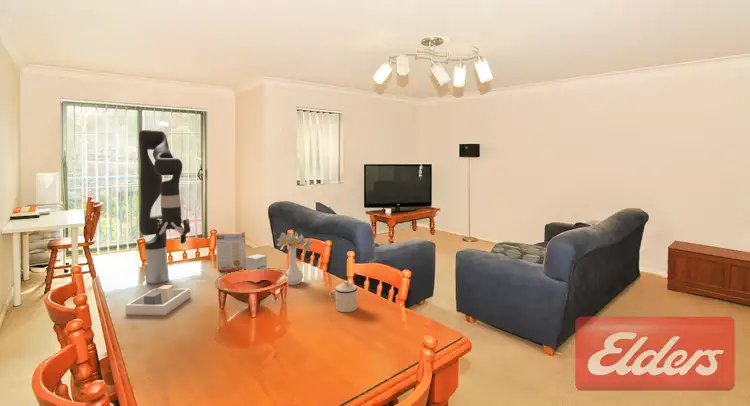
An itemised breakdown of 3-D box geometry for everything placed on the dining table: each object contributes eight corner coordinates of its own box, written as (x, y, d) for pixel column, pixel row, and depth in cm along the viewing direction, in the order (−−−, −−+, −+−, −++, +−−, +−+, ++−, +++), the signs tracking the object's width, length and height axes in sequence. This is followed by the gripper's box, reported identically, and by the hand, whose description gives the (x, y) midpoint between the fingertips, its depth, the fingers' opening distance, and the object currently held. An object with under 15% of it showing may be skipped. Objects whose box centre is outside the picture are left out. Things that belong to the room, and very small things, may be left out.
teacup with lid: (360, 305, 168) (360, 278, 166) (352, 314, 159) (352, 285, 158) (334, 302, 172) (333, 276, 170) (325, 310, 163) (324, 282, 162)
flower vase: (307, 288, 190) (305, 236, 186) (272, 285, 194) (270, 234, 191) (317, 280, 202) (316, 231, 199) (284, 277, 207) (282, 229, 203)
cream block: (157, 302, 172) (156, 288, 171) (164, 298, 176) (163, 285, 176) (168, 302, 172) (167, 288, 171) (174, 298, 176) (173, 285, 175)
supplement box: (256, 284, 197) (255, 258, 195) (246, 281, 201) (245, 256, 199) (267, 279, 203) (266, 255, 201) (257, 277, 207) (256, 253, 205)
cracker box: (247, 268, 223) (245, 231, 220) (242, 271, 217) (240, 233, 214) (223, 268, 224) (221, 231, 222) (217, 271, 218) (215, 233, 216)
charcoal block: (144, 310, 163) (143, 296, 162) (151, 306, 167) (150, 292, 167) (155, 310, 163) (154, 296, 162) (162, 306, 167) (160, 292, 166)
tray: (125, 314, 160) (125, 305, 160) (155, 296, 180) (155, 288, 179) (164, 315, 159) (164, 305, 159) (190, 297, 179) (189, 288, 179)
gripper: (191, 204, 173) (193, 241, 175) (160, 204, 174) (162, 240, 176) (182, 207, 166) (184, 245, 168) (149, 206, 167) (152, 244, 169)
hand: (173, 243), depth 172 cm, fingers open, 8 cm apart
